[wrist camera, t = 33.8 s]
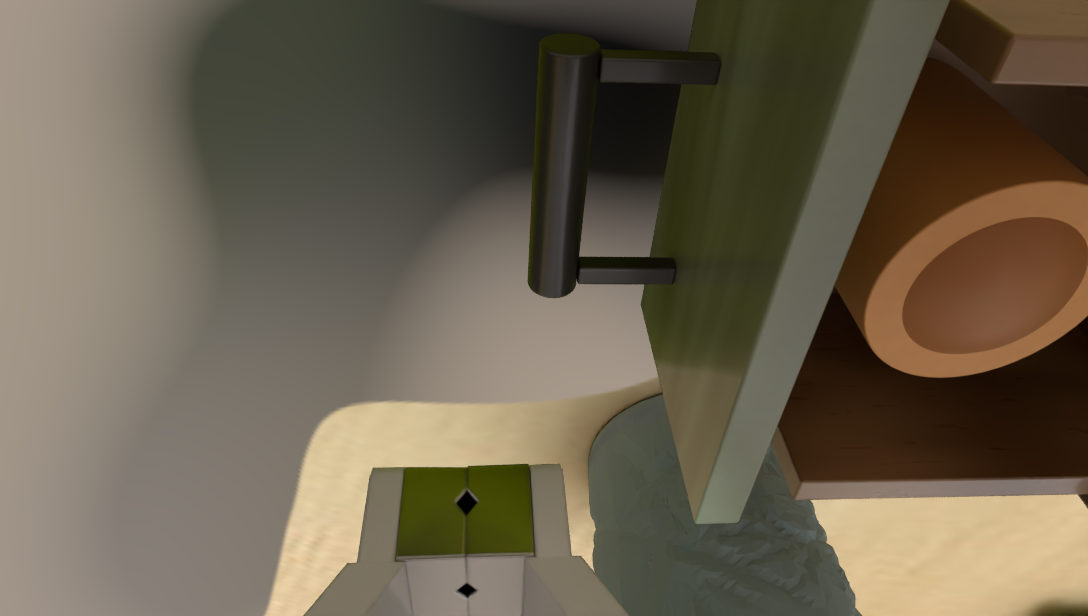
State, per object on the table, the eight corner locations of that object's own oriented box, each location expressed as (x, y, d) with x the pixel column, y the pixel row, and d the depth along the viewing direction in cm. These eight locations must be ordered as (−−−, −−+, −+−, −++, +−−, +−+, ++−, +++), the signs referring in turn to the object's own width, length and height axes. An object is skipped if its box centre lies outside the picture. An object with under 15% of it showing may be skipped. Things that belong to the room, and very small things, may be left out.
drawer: (520, 304, 25) (532, 529, 18) (539, -146, 16) (574, -28, 10) (1029, 305, 27) (1210, 513, 20) (1296, -107, 18) (1775, 19, 11)
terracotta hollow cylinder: (813, 53, 19) (941, 200, 13) (1018, 60, 19) (1221, 205, 14) (759, 232, 22) (843, 404, 17) (932, 234, 23) (1067, 402, 17)
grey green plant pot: (792, 356, 29) (931, 665, 20) (796, 496, 35) (902, 776, 26) (545, 408, 30) (571, 722, 21) (594, 534, 37) (629, 815, 28)
